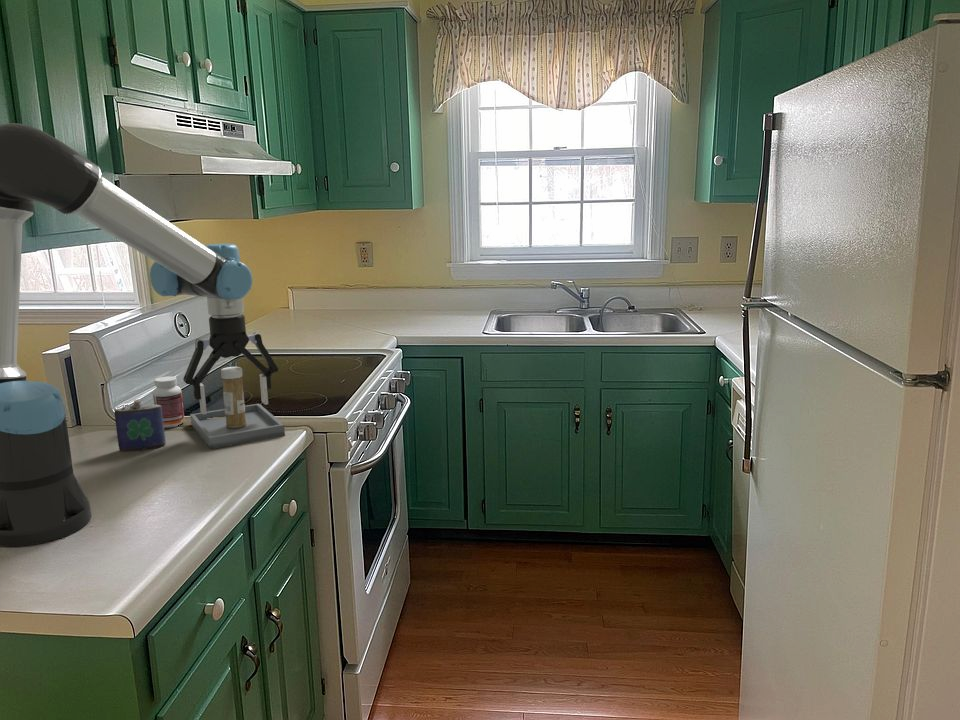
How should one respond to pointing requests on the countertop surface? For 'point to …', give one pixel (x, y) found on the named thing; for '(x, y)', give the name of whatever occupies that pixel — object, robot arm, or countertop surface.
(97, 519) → the countertop surface
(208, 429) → the tray
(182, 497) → the countertop surface
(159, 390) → the pill bottle
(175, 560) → the countertop surface
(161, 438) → the flask
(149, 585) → the countertop surface
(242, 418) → the sprinkles bottle
